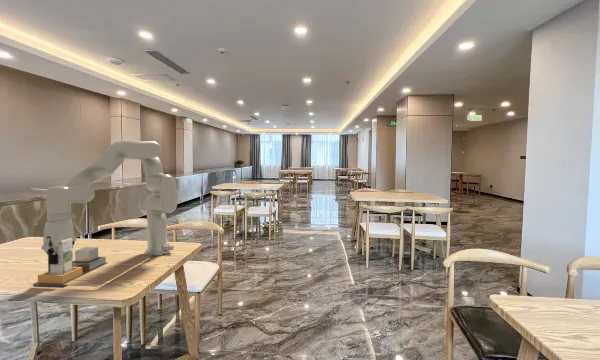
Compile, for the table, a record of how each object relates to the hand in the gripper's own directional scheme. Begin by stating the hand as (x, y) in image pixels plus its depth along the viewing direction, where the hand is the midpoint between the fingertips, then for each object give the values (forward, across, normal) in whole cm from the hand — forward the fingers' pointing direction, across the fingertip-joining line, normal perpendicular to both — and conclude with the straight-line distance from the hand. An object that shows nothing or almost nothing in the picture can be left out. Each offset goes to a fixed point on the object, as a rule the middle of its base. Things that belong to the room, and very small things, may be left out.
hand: (60, 260), depth 121 cm
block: (+7, -14, 0) cm, 16 cm away
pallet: (+8, -7, 0) cm, 11 cm away
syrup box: (+6, 0, 0) cm, 6 cm away
